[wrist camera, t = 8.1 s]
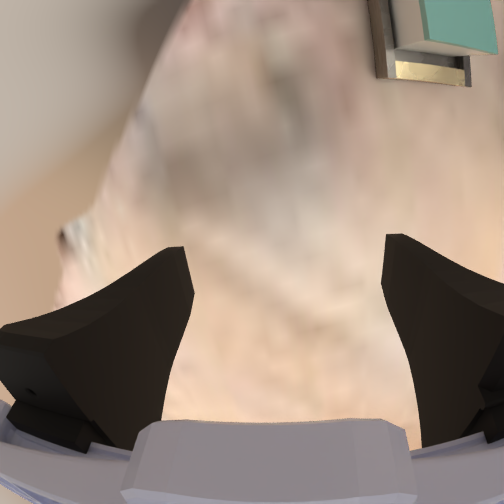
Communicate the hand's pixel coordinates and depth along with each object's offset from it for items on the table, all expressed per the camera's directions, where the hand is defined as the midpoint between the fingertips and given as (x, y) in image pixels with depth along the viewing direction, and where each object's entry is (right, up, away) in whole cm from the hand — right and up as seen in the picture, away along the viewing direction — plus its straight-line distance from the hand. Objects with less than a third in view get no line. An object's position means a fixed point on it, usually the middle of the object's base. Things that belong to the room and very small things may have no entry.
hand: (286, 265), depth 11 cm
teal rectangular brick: (+8, +15, +1) cm, 18 cm away
